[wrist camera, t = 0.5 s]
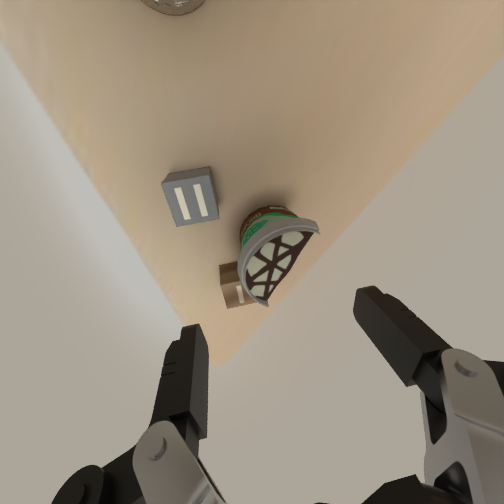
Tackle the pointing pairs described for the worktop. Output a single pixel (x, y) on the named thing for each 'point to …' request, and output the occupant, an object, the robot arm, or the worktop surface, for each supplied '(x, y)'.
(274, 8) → the worktop surface
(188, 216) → the slate block
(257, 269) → the food container
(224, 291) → the walnut block
